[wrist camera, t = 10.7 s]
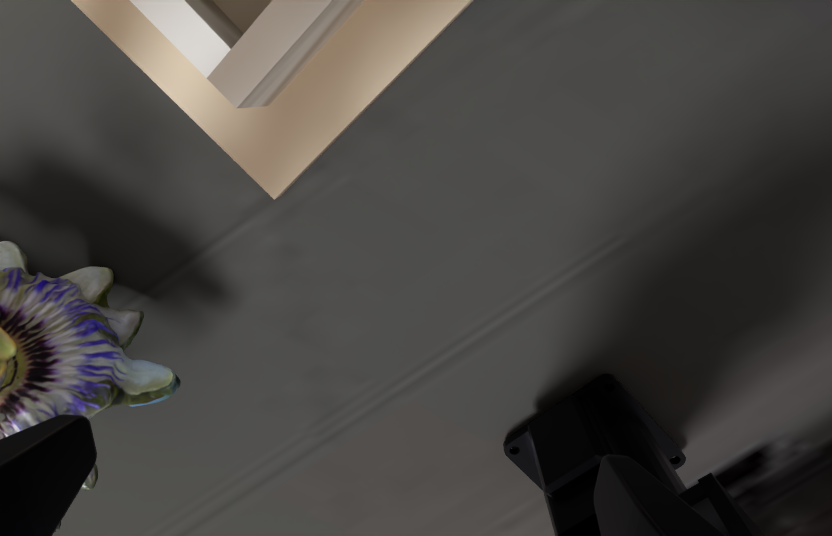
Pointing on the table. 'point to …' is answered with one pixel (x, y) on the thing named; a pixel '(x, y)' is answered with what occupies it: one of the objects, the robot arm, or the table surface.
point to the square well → (273, 66)
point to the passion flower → (67, 348)
